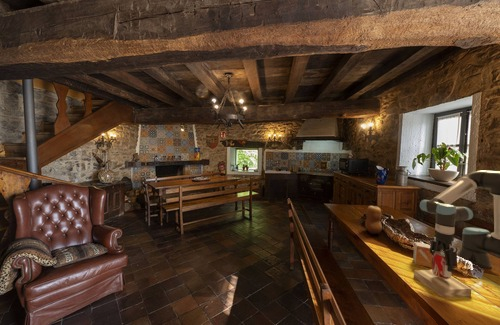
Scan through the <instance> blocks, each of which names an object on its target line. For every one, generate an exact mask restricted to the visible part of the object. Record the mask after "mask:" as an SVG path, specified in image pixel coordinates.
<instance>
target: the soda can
mask: <svg viewBox="0 0 500 325" xmlns="http://www.w3.org/2000/svg"><path fill="white" fill-rule="evenodd" d="M445 264H447V263H446V259H445V254H444V251H442V250H441V251H435V253H434V257H433V256H432V269H431V270H432V272H433V274H434V275H435V276H437V277H439V278H441V279H449V278H450V277H445V276H444V273H445Z"/></svg>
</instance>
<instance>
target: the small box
mask: <svg viewBox="0 0 500 325" xmlns="http://www.w3.org/2000/svg"><path fill="white" fill-rule="evenodd" d="M413 243H414V244H413V246H414V247H413V256H412V257H413V259H412V260H413V262H414V265H417V266H418V265H419V266H423V267H426V268H430V269H431V268H432V265H433V255H432V253H430V246H431V244H426V243H423V242H422V243H421V242H416V241H414V242H413Z"/></svg>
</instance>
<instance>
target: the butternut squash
mask: <svg viewBox="0 0 500 325" xmlns="http://www.w3.org/2000/svg"><path fill="white" fill-rule="evenodd" d="M381 220H382V209H381V208H380V207H379V206H376V205H375V206H374V205H369V206H368V207H367V209H366V218H365V222H364V226H365V228H366V229H367V231H368V232H369V233H370V234H374V235H375V234H379V233H381V231H383V230H382V229H383V226H382V222H381Z"/></svg>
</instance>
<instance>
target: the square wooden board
mask: <svg viewBox="0 0 500 325" xmlns="http://www.w3.org/2000/svg"><path fill="white" fill-rule="evenodd" d="M413 274H414V275H413V277H414V279H417V280H418V281H419V282H421V283H422V284H423V285H425V286H426V287H427V288H428V289H430V290H432V291H433V292H435V293H436V294H437V295H439V296H440V297H441V296H442V297H441V298H451V297H452V298H454V297H456V298H457V296H460V297H471V296H472V288H471V287H469V286H467V285H466V284H464V283H462V282H461V281H460V280H457V279H455V278H454V277H452V276H451V277H450V278H449V279H441V278H439V277H437V276H435V275H434V274H433V272H432V269H420V270H418V269H416V270H414V272H413ZM447 296H448V297H447Z"/></svg>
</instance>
